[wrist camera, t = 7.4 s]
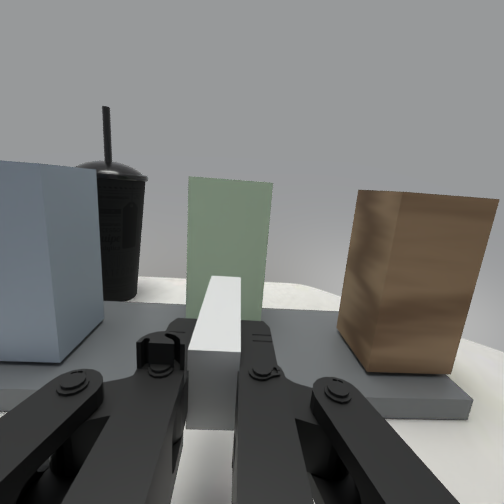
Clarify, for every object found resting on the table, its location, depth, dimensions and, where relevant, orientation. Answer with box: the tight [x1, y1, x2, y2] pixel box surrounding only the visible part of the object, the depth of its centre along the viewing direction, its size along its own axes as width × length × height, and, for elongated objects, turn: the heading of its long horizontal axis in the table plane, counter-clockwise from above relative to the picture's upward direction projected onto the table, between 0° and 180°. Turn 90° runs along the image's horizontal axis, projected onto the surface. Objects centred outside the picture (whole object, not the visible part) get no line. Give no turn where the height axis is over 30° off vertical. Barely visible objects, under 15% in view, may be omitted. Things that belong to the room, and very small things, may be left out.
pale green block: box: [186, 177, 273, 321], centre depth 24 cm, size 6×6×12 cm
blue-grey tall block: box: [0, 161, 104, 363], centre depth 19 cm, size 6×6×12 cm
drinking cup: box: [76, 106, 148, 302], centre depth 30 cm, size 8×8×20 cm
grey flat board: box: [0, 301, 473, 420], centre depth 22 cm, size 12×32×2 cm, turn 93°
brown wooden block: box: [336, 190, 499, 374], centre depth 21 cm, size 6×6×12 cm
